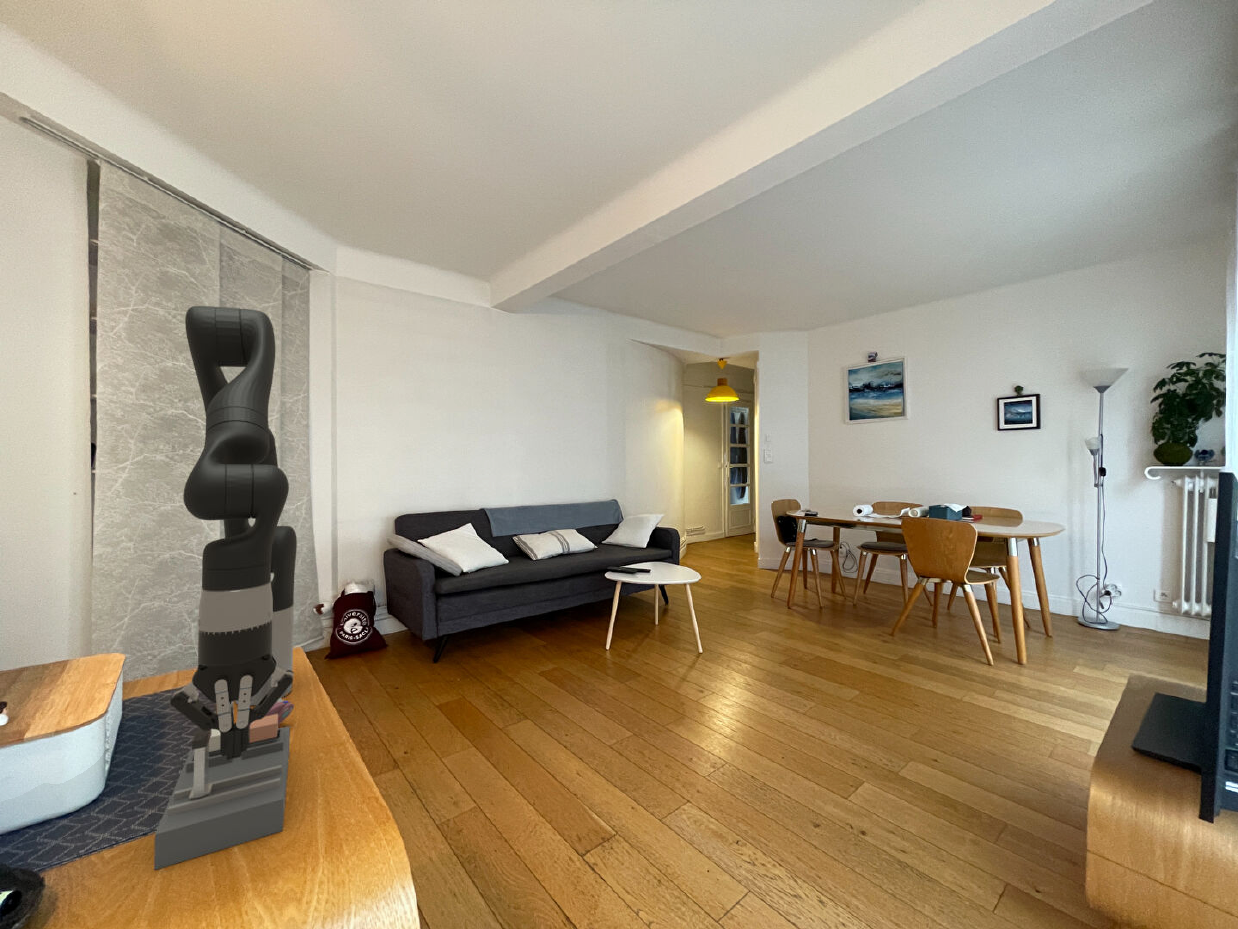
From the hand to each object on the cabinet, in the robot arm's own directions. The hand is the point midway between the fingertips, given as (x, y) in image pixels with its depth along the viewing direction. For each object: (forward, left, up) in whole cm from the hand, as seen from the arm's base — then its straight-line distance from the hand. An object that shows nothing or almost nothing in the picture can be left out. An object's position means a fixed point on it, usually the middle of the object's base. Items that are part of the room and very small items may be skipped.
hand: (234, 755), depth 64 cm
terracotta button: (-10, +2, -3) cm, 11 cm away
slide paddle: (0, -3, -4) cm, 6 cm away
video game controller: (-22, +1, -9) cm, 24 cm away
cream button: (-10, -4, -3) cm, 11 cm away
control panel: (-5, -1, -8) cm, 10 cm away
